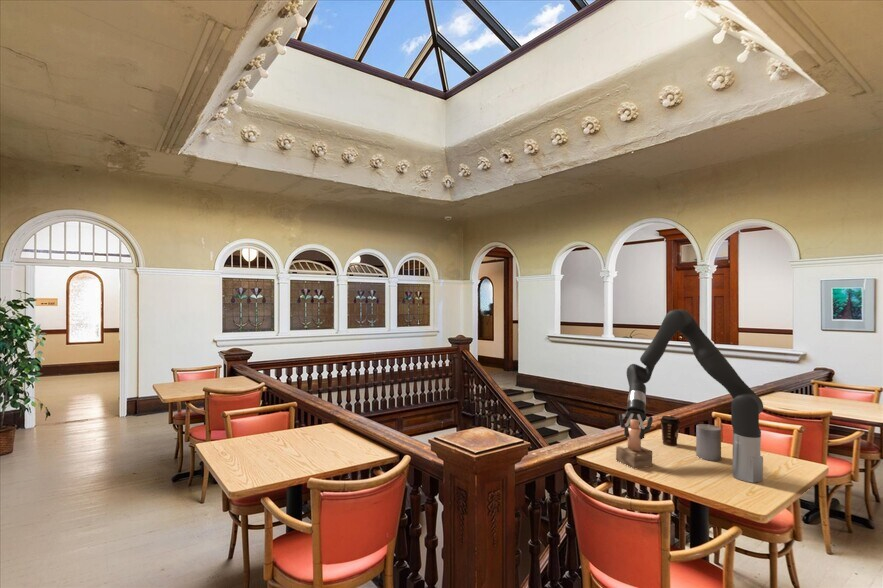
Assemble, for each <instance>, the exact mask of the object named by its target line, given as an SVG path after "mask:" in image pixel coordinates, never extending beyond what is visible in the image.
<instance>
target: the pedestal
mask: <svg viewBox="0 0 883 588" xmlns="http://www.w3.org/2000/svg"><path fill="white" fill-rule="evenodd" d="M615 452H616V453H615V455H616V456H615V457H616V458H615V461H616V460H617V461H616V462H618V461H619V462H618V463H620V462H621V463H620V464H622V463H623V464H622V465H624V464H626V465H625V466H627V465H628V466H627V467H629V466H630V468H631V467H632V468H631V469H633V468H637V469H641V467H643V468H647V467H646V466H649V467H652V466H653V450H650V449H648V448H646V447H642V446H641V450H631V449H629V448H628V447H622V446H620V445H617V446H616V449H615Z"/></svg>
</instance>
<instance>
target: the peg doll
mask: <svg viewBox="0 0 883 588" xmlns="http://www.w3.org/2000/svg"><path fill="white" fill-rule="evenodd" d="M641 447H642V439H641V428H640V425H639V420H637V419H630V427H628V437H627V448H629V449H631V450H641Z"/></svg>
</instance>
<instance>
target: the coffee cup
mask: <svg viewBox="0 0 883 588" xmlns="http://www.w3.org/2000/svg"><path fill="white" fill-rule="evenodd" d="M659 421H660V426H661V438H662V444H663V445H665V446H670V447H675V446H678V439H679V431H680V423H681V421H680V419H679V418H678V417H675V416H672V415H662V416H661V419H660V420H659Z"/></svg>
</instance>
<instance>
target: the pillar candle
mask: <svg viewBox="0 0 883 588" xmlns="http://www.w3.org/2000/svg"><path fill="white" fill-rule="evenodd" d="M695 428H696V429H695V430H696V432H695V435H696V436H695V439H696V440H695V441H696V442H695V445H696V446H695V450H696V451H695V453H696V454H695V456H696V457H697V456H698V457H699V459H700V458H702V459H701V460H704V459H706V460H705V461H709V460H711V462H718V460H719V461H722V427H720V426H717V425H713V424H705V423H699V424H696V427H695ZM698 457H697V458H698Z"/></svg>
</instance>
